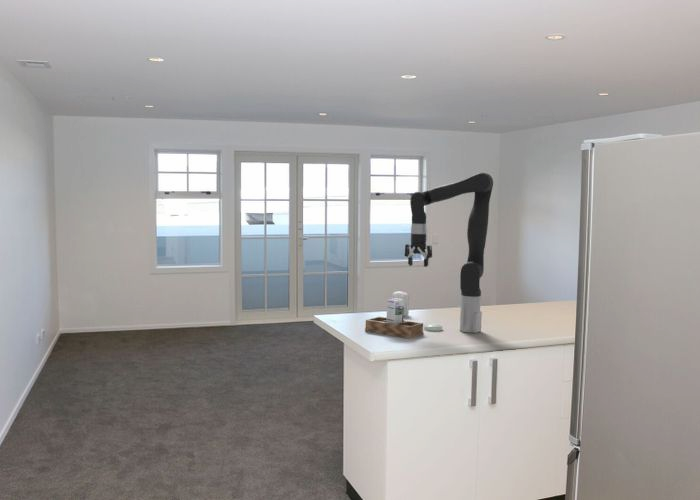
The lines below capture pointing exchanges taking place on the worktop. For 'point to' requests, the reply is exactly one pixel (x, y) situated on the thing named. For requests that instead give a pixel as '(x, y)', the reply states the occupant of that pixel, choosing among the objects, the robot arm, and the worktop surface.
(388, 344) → the worktop surface
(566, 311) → the worktop surface
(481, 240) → the robot arm
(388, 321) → the syrup box
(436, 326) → the dish
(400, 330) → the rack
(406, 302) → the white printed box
